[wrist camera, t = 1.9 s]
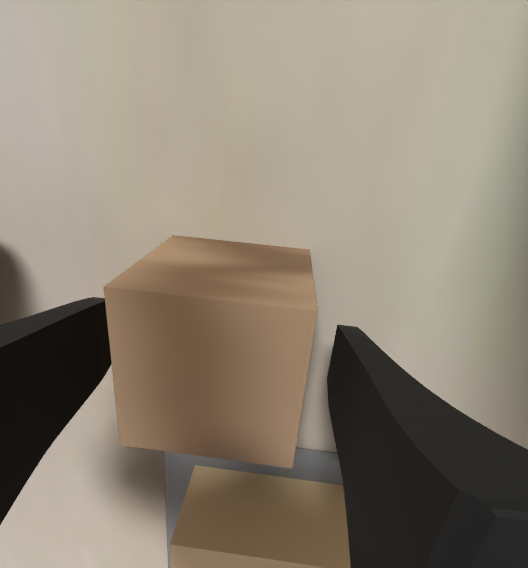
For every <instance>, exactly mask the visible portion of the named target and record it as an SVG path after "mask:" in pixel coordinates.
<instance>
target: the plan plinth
mask: <svg viewBox="0 0 528 568" xmlns="http://www.w3.org/2000/svg"><path fill="white" fill-rule="evenodd" d="M164 472H165V498H166V523H167V549H168V568H351V566H350V553H349V540H348V528H347V517H346V506H345V495H344V487H343V480H342V474H341V469H340V464H339V458H338V453H331V452H323V451H316V450H308V449H300V448H296V449H295V455H294V461H293V467H292V468H285V467H277V466H270V465H263V464H255V463H248V462H240V461H233V460H226V459H218V458H211V457H204V456H196V455H189V454H182V453H174V452H167V451H164Z"/></svg>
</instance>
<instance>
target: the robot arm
mask: <svg viewBox="0 0 528 568" xmlns="http://www.w3.org/2000/svg"><path fill="white" fill-rule="evenodd" d="M111 364H112V362H111V352H110V343H109V333H108V323H107V314H106V304H105V298H96V297H92V298H87V299H83V300H79V301H75V302H72V303H69V304H66V305H63V306H59V307H56V308H53V309H50V310H47V311H44V312H41V313H38V314H35V315H32V316H29V317H26V318H23V319H19V320H16V321H13V322H9V323H6V324H3V325H0V525H1V523H2V521H3V520H4V518H5V516H6V515H7V513H8V511H9V510H10V508H11V506H12V505H13V503H14V501H15V500H16V498H17V496H18V495H19V493H20V492H21V490H22V488H23V487H24V485H25V483H26V482H27V480H28V479H29V477H30V476H31V474H32V473H33V471H34V469H35V468H36V466H37V465H38V463H39V462H40V460H41V459H42V457H43V455H44V454H45V452H46V451H47V450H48V448H49V447H50V446H51V444H52V443H53V441H54V440H55V439H56V437H57V436H58V435H59V434H60V432H61V431H62V430H63V429H64V427H65V426H66V425H67V424H68V422H69V421H70V420H71V419H72V417H73V416H74V415H75V414H76V412H77V411H78V410H79V409H80V407H81V406H82V405H83V404H84V402H85V401H86V400H87V398H88V397H89V396H90V395H91V393H92V392H93V391H94V390H95V388H96V387H97V386H98V384H99V383H100V382H101V380H102V379H103V377H104V376H105V374H106V372H107V371H108V369H109V367H110V366H111ZM327 383H328V402H329V411H330V416H331V422H332V427H333V432H334V438H335V443H336V448H337V453H338V458H339V464H340V469H341V474H342V480H343V487H344V495H345V506H346V517H347V528H348V540H349V553H350V566H351V568H528V450H527V449H525V448H523V447H521V446H519V445H517V444H516V443H514V442H512V441H510V440H508V439H506V438H504V437H503V436H501V435H499V434H497V433H495V432H494V431H492V430H490V429H488V428H487V427H485V426H483V425H482V424H480V423H478V422H477V421H475V420H473V419H472V418H470V417H468V416H467V415H465V414H463V413H462V412H460V411H459V410H457V409H456V408H454V407H453V406H451V405H450V404H448V403H447V402H445V401H444V400H442V399H441V398H440V397H438V396H437V395H435V394H434V393H432V392H431V391H430V390H428V389H427V388H426V387H424V386H423V385H422V384H420V383H419V382H418V381H417V380H416V379H414V378H413V377H412V376H411V375H409V374H408V373H407V372H406V371H405V370H403V369H402V368H401V367H400V366H399V365H398V364H397V363H395V362H394V361H393V360H392V359H391V358H390V357H389V356H388V355H387V354H386V353H385V352H383V351H382V350H381V349H380V348H379V347H378V346H377V345H376V344H375V343H374V342H373V341H372V340H371V339H370V338H369V337H368V336H367V335H366V334H365V333H364V332H363V331H361V330H360V329H359V328H358V327H353V326H344V325H337V330H336V335H335V340H334V346H333V351H332V356H331V362H330V367H329V372H328V377H327Z"/></svg>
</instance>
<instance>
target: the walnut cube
mask: <svg viewBox="0 0 528 568" xmlns="http://www.w3.org/2000/svg"><path fill="white" fill-rule="evenodd" d="M104 295H105V304H106V314H107V323H108V333H109V343H110V352H111V362H112V372H113V381H114V391H115V400H116V410H117V420H118V429H119V439H120V445H123V446H130V447H137V448H145V449H152V450H160V451H167V452H174V453H182V454H189V455H196V456H204V457H211V458H218V459H226V460H233V461H240V462H248V463H255V464H263V465H270V466H277V467H285V468H292V467H293V461H294V455H295V449H296V442H297V436H298V430H299V424H300V418H301V411H302V405H303V399H304V393H305V387H306V380H307V374H308V368H309V362H310V356H311V349H312V343H313V337H314V331H315V325H316V318H317V312H318V310H317V302H316V295H315V287H314V280H313V272H312V265H311V257H310V250H307V249H298V248H288V247H279V246H269V245H260V244H250V243H240V242H231V241H221V240H212V239H202V238H193V237H183V236H174V235H173V236H172V237H170V238H169V239H168V240H166V241H165V242H164V243H162V244H161V245H160V246H158V247H157V248H156V249H154V250H153V251H151V252H150V253H149V254H147V255H146V256H145V257H143V258H142V259H141V260H139V261H138V262H137V263H135V264H134V265H132V266H131V267H130V268H128V269H127V270H126V271H124V272H123V273H122V274H120V275H119V276H118V277H116V278H115V279H113V280H112V281H111V282H109V283H108V284H107V285H105V286H104Z"/></svg>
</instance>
